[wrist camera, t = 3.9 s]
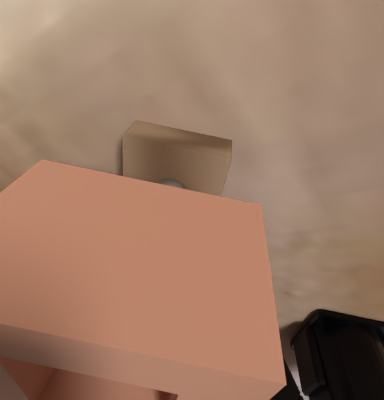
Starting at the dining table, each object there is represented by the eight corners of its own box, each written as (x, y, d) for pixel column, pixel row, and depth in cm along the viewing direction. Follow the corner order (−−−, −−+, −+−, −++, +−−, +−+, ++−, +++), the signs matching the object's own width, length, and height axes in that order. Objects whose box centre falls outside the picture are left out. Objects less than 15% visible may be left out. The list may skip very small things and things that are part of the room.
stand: (231, 140, 13) (231, 183, 10) (212, 213, 16) (206, 264, 13) (136, 120, 13) (104, 156, 10) (134, 197, 16) (109, 243, 13)
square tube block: (261, 205, 7) (286, 384, 4) (214, 317, 12) (205, 455, 8) (42, 159, 8) (-131, 295, 4) (71, 286, 12) (-1, 411, 8)
